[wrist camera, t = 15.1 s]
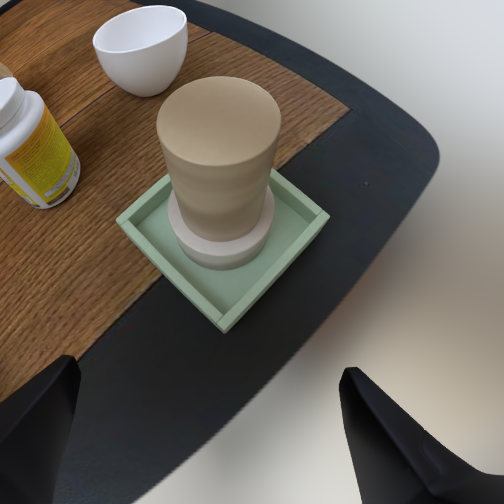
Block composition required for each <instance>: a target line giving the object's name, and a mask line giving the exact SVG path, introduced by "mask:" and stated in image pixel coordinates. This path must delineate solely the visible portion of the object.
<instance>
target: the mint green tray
mask: <svg viewBox="0 0 504 504" xmlns="http://www.w3.org/2000/svg"><path fill="white" fill-rule="evenodd" d="M268 185H269V187H270V189H271V191H272V194H273V197H274V202H275V213H274V218H273V222H272V225H271V228H270V231H269V234H268V237H267V240H266V243H265V245H264V247H263V249H262V250H261V252H260V253H259V254H258V255H257V256H256V257H255V258H254V259H253V260H252V261H251V262H249V263H248V264H246V265H244V266H242V267H239V268H237V269H233V270H227V271H216V270H210V269H207V268H204V267H201V266H199V265H197V264H196V263H194V262H193V261H191V260H190V259H189V258H188V257H187V256H186V255H185V254H184V252H183V251H182V249H181V248H180V246H179V244H178V241H177V239H176V237H175V234H174V232H173V229H172V227H171V224H170V221H169V217H168V201H169V197H170V194H171V192H172V189H173V186H172V183H171V179H170V176H169V173H167V174H166V175H165V176H164V177H163V178H162V179H160V180H159V181H158V182H157V183H156V184H155V185H153V186H152V187H151V188H150V189H149V190H148V191H146V192H145V193H144V194H143V195H142V196H141V197H140V198H139V199H137V200H136V201H135V202H134V203H133V204H132V205H131V206H130V207H129V208H127V209H126V210H125V211H124V212H123V213H122V214H121V215H120V216H119V217H118V218H117V219H116V222H117V223H118V224H119V226H120V227H121V228H122V230H123V231H124V232H125V234H126V235H127V236H128V237H129V239H130V240H131V241H132V242H133V243H134V244H135V245H136V246H137V247H138V248H139V249H140V250H141V251H142V253H143V254H144V255H145V256H146V257H147V258H148V259H149V260H150V261H151V262H152V263H153V264H154V265H155V266H156V267H157V268H158V269H159V270H160V271H161V272H162V273H163V275H164V276H165V277H166V278H167V279H168V280H169V281H170V282H171V283H172V284H173V285H174V286H175V287H176V288H177V289H178V290H179V291H180V292H181V293H182V294H183V295H184V296H185V297H186V298H187V299H188V300H189V301H190V302H191V303H192V304H193V305H194V306H195V307H196V308H197V309H198V310H200V311H201V312H202V313H203V314H204V315H205V316H206V317H207V318H208V319H209V320H210V321H211V322H212V323H213V324H214V325H215V326H216V327H217V328H218V329H219V330H220V331H222V332H223V333H224V334H226V333H227V332H228V331H229V330H230V329H231V328H232V327H233V326H234V325H235V323H236V322H237V321H238V320H239V319H240V318H241V317H242V316H243V315H244V314H245V313H246V312H247V311H248V310H249V309H250V308H251V307H252V306H253V305H254V303H255V302H256V301H257V300H258V299H259V298H260V297H261V296H262V295H263V294H264V293H265V292H266V291H267V290H268V288H269V287H270V286H271V285H272V284H273V283H274V282H275V281H276V280H277V279H278V278H279V277H280V276H281V274H282V273H283V272H284V271H285V270H286V269H287V268H288V267H289V266H290V265H291V264H292V262H293V261H294V260H295V259H296V258H297V257H298V256H299V255H300V254H301V253H302V251H303V250H304V249H305V248H306V247H307V246H308V245H309V244H310V243H311V242H312V240H313V239H314V238H315V237H316V236H317V235H318V233H319V232H320V231H321V229H322V228H323V226H324V225H325V224H326V222H327V221H328V219H329V218H330V215H328V214H327V213H326V212H325V211H322V209H321V208H320V207H319V206H318V205H317V204H315V203H314V202H313V201H312V200H311V199H309V198H308V197H307V196H306V195H305V194H303V193H302V192H301V191H300V190H299V189H297V188H296V187H295V186H294V185H292V184H291V183H290V182H289V181H288V180H286V179H285V178H284V177H283V176H281V175H280V174H279V173H278V172H276V171H275V170H274V169H273V168H272V169H271V173H270V177H269V182H268Z"/></svg>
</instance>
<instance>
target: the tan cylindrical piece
mask: <svg viewBox="0 0 504 504" xmlns="http://www.w3.org/2000/svg"><path fill="white" fill-rule="evenodd" d="M156 127H157V133H158V137H159V140H160V144H161V148H162V151H163V155H164V158H165V162H166V165H167V169H168V172H169V176H170V179H171V183H172V186H173V189H172V192H171V194H170V197H169V201H168V217H169V221H170V224H171V227H172V229H173V232H174V234H175V237H176V239H177V241H178V244H179V246H180V248H181V249H182V251H183V252H184V254H185V255H186V256H187V257H188V258H189V259H190V260H191V261H193V262H194V263H196V264H197V265H199V266H201V267H204V268H207V269H210V270H216V271H227V270H233V269H237V268H239V267H242V266H244V265H246V264H248V263H249V262H251V261H252V260H253V259H254V258H255V257H256V256H257V255H258V254H259V253H260V252H261V250H262V249H263V247H264V245H265V243H266V240H267V237H268V234H269V231H270V228H271V225H272V222H273V218H274V213H275V202H274V197H273V194H272V191H271V189H270V187H269V185H268V182H269V177H270V173H271V169H272V164H273V160H274V155H275V151H276V147H277V142H278V138H279V134H280V129H281V113H280V110H279V108H278V105H277V103H276V102H275V100H274V99H273V98H272V97H271V95H270V94H269V93H267V92H266V91H265V90H264V89H262V88H261V87H259V86H258V85H256V84H254V83H251V82H249V81H246V80H243V79H239V78H234V77H221V76H219V77H208V78H203V79H199V80H196V81H193V82H190V83H188V84H186V85H184V86H182V87H180V88H179V89H177V90H176V91H174V92H173V93H172V94H171V95H170V96H169V97H168V98H167V99H166V100H165V101H164V103H163V105H162V106H161V108H160V110H159V113H158V116H157V122H156Z"/></svg>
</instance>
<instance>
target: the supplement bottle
mask: <svg viewBox="0 0 504 504" xmlns="http://www.w3.org/2000/svg"><path fill="white" fill-rule="evenodd" d="M79 175H80V162H79V159H78V157H77V155H76V153H75V152H74V150H73V149H72V147H71V145H70V144H69V142H68V141H67V139H66V138H65V136H64V134H63V133H62V131H61V130H60V128H59V126H58V125H57V123H56V121H55V120H54V118H53V116H52V115H51V113H50V111H49V110H48V108H47V106H46V105H45V103H44V101H43V100H42V98H41V97H40V95H39V94H37V93H36V92H33V91H24V90H23V88H22V87H21V86H20V85H19V83H18V81H17V80H16V79H15V78H13V77H7V78H4V79H1V80H0V177H1V178H2V179H3V180H4V181H5V182H6V183H7V184H8V185H9V186H11V187H12V188H13V189H14V190H15V191H16V192H17V193H18V194H19V195H20V196H21V197H22V198H23V199H25V200H26V201H27V202H28V203H29V204H30V205H32V206H33V207H35V208H39V209H46V208H51V207H53V206H56V205H57V204H59V203H61V202H62V201H63V200H65V199H66V198H67V197H68V196H69V195H70V193H71V192H72V191H73V189H74V188H75V186H76V184H77V182H78V179H79Z"/></svg>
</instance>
